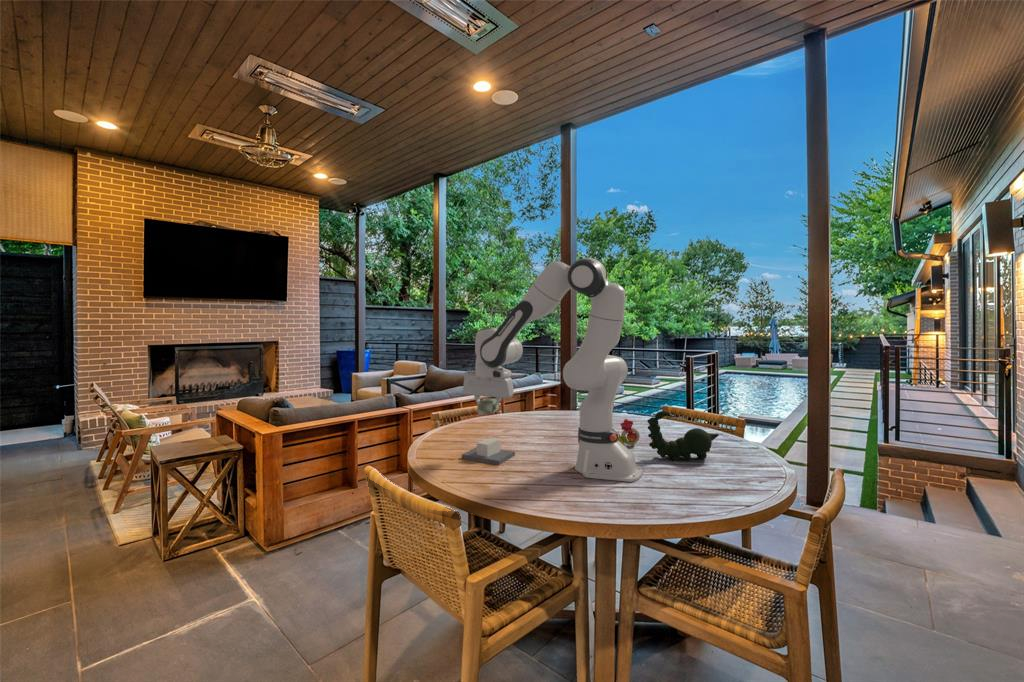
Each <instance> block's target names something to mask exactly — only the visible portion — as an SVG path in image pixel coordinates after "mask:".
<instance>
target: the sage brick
mask: <svg viewBox="0 0 1024 682" xmlns="http://www.w3.org/2000/svg"><path fill="white" fill-rule="evenodd" d="M496 401H497V400H495V398H493V397H490V398H489V397H485V398H483V399H480V401H479V402H478V407H477V415H485V416H492V415H494V413H496V412H497V411H498V409H493V404H495V403H496Z"/></svg>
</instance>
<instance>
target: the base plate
mask: <svg viewBox="0 0 1024 682" xmlns="http://www.w3.org/2000/svg"><path fill="white" fill-rule="evenodd" d="M515 456H516V451H515V450H509V449H508V450H507V449H501V448H500V452H498V453H496V454H493V455H491V456H489V457H485V456H481V455H477V446H476V447H474V448H472V449H471V450H468V451H466V452H464V453H462V454H461V459H462V458H464V459H463V460H468V459H469V461H475V462H480V463H486V464H491V465H492V464H493V465H498V466H500V465H501V464H503V463H505V462H506V461H508V460H510V459H512V458H513V457H515Z"/></svg>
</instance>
